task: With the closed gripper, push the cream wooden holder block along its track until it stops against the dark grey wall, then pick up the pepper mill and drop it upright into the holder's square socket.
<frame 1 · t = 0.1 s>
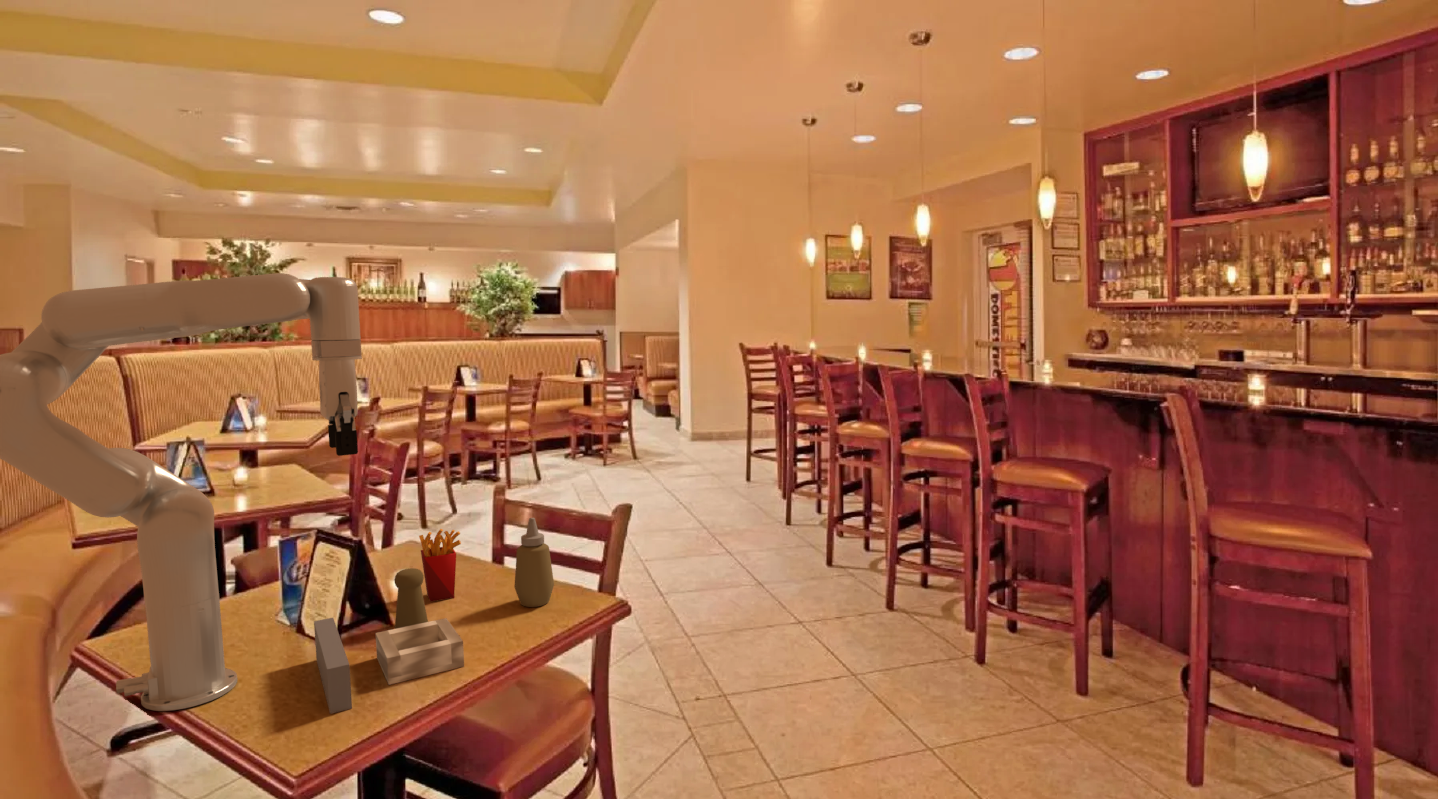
hand: (343, 450, 130), 37 cm above the table, tool pointing down, fingers open, 9 cm apart
squeeze bottle: (534, 603, 159), on the table
pepper mill: (411, 626, 148), on the table
holder block: (419, 649, 131), point 2 cm above the table, slide at 0.0 cm
french fries: (445, 598, 162), on the table
backstop wall: (333, 682, 124), on the table
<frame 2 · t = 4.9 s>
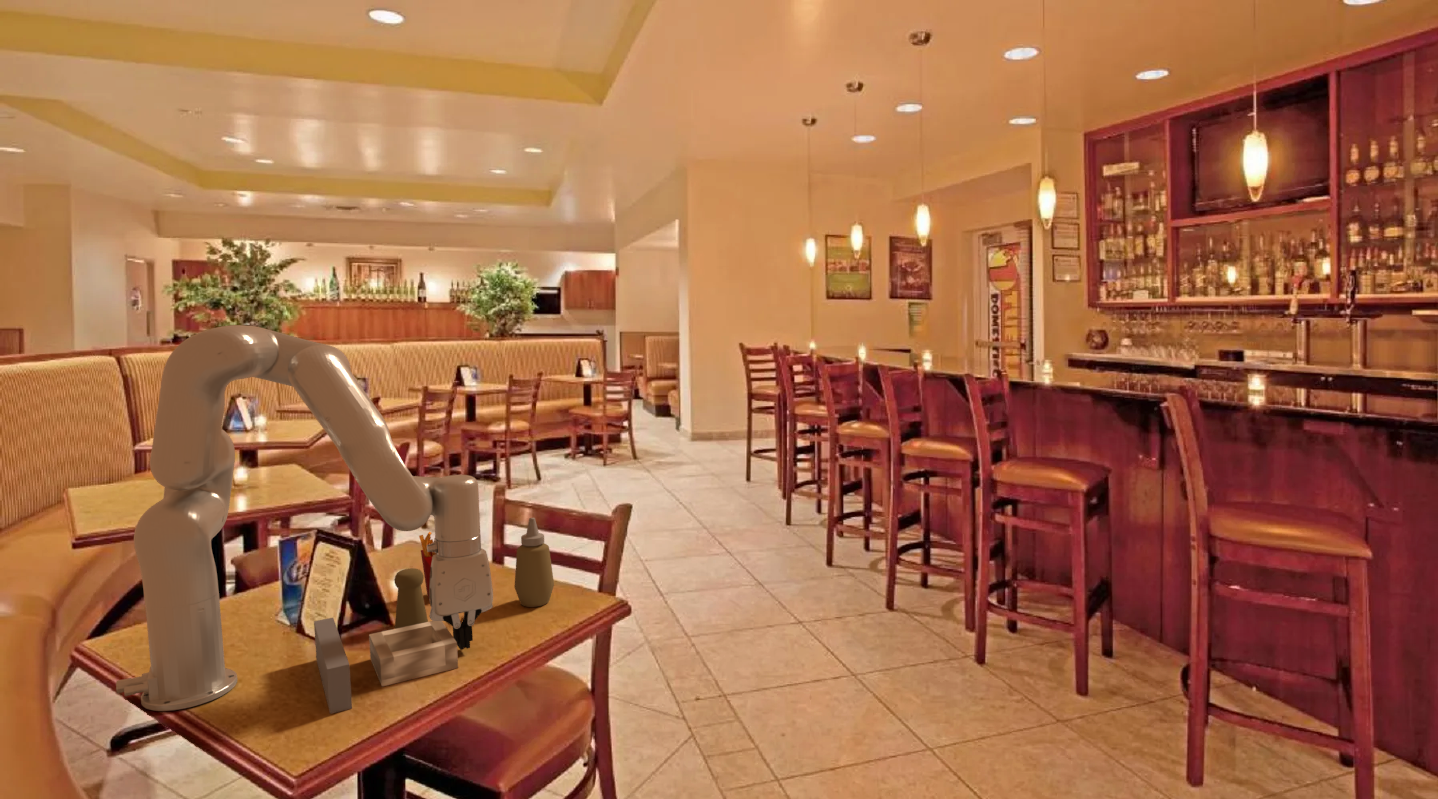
hand: (463, 646, 135), 1 cm above the table, tool pointing down, fingers closed
holder block: (413, 650, 131), point 2 cm above the table, slide at 1.0 cm, touching gripper
everything else where it was.
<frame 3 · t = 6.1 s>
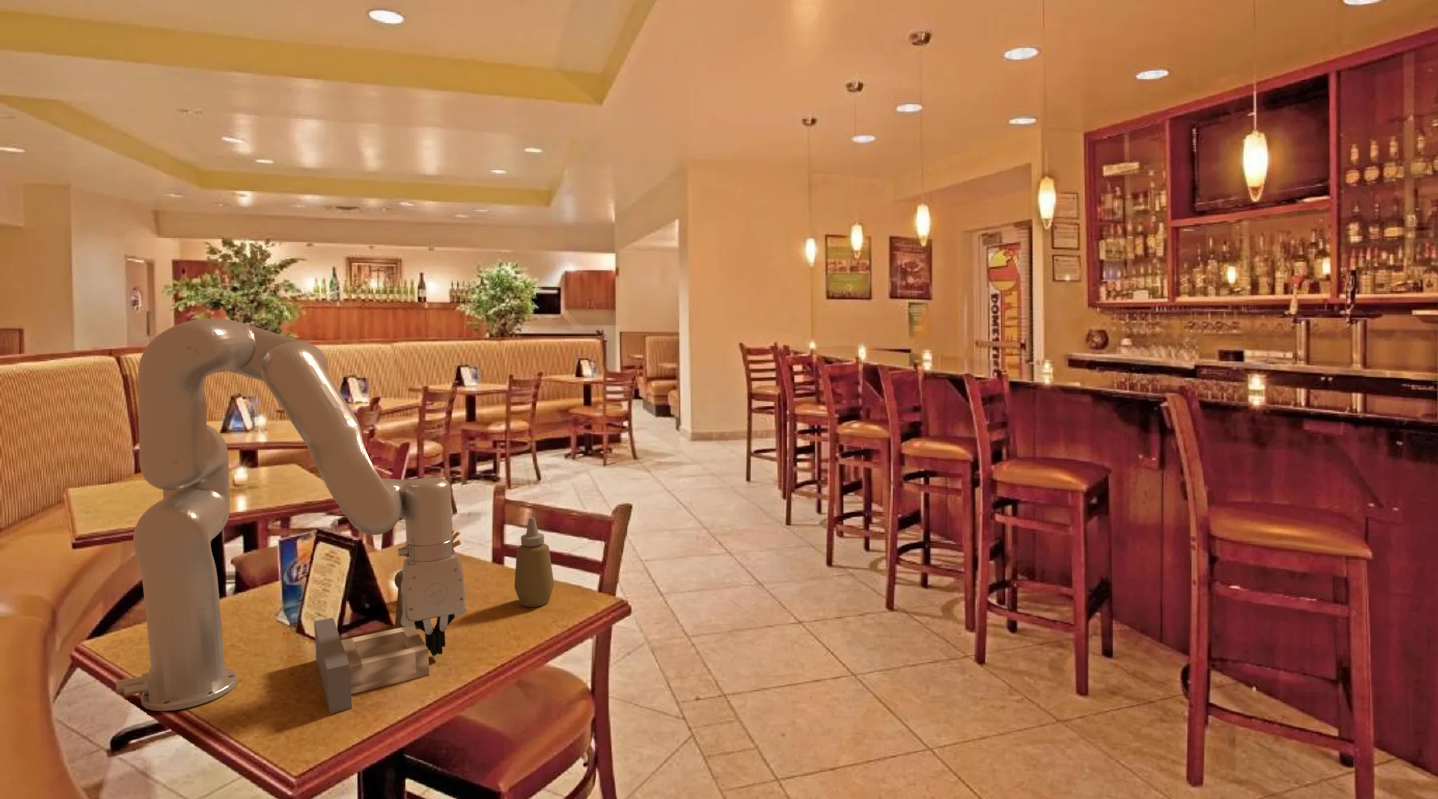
hand: (435, 651, 133), 1 cm above the table, tool pointing down, fingers closed
holder block: (383, 657, 128), point 2 cm above the table, slide at 5.7 cm, touching gripper
everything else where it was.
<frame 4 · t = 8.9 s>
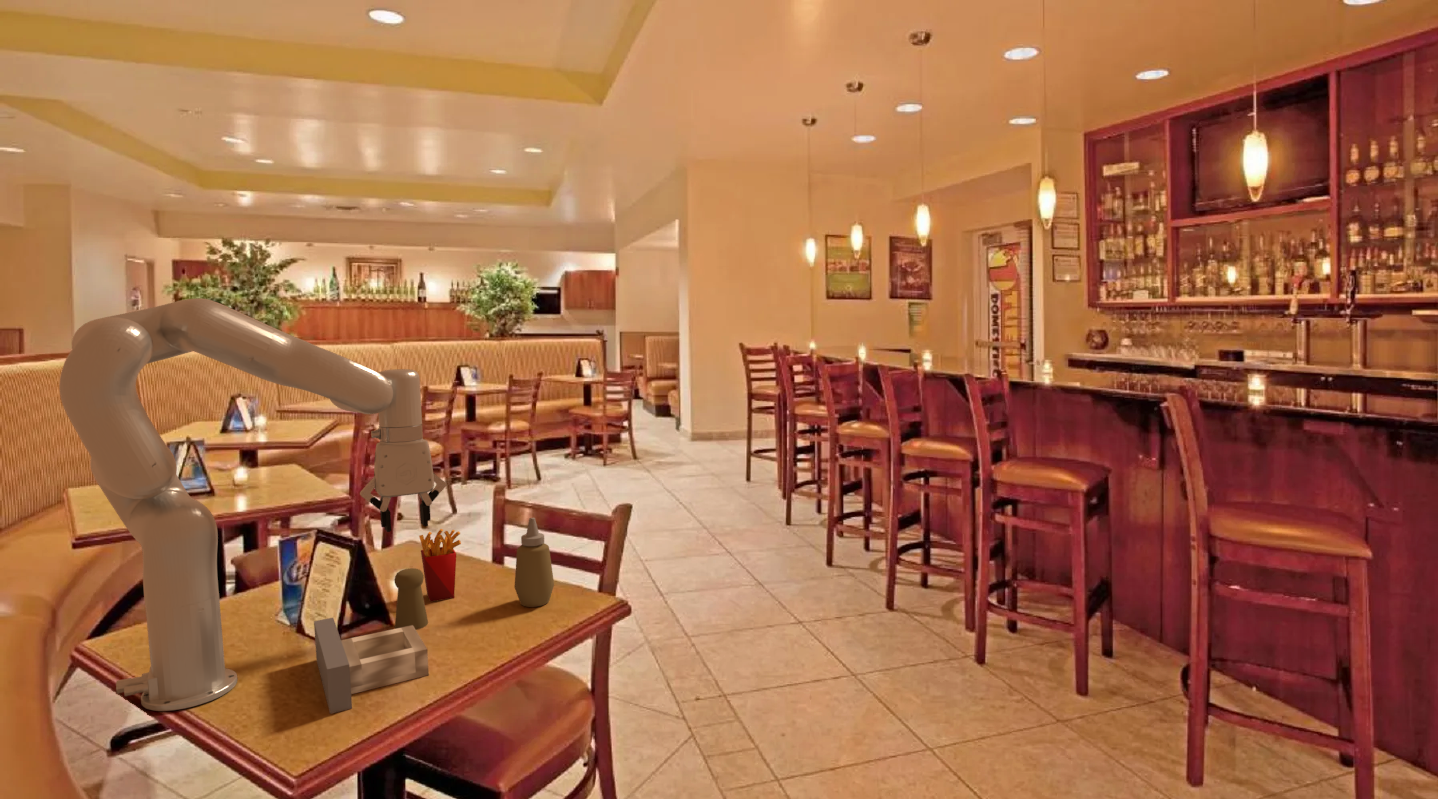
hand: (406, 526, 145), 20 cm above the table, tool pointing down, fingers open, 6 cm apart
holder block: (383, 657, 128), point 2 cm above the table, slide at 5.8 cm
everything else where it was.
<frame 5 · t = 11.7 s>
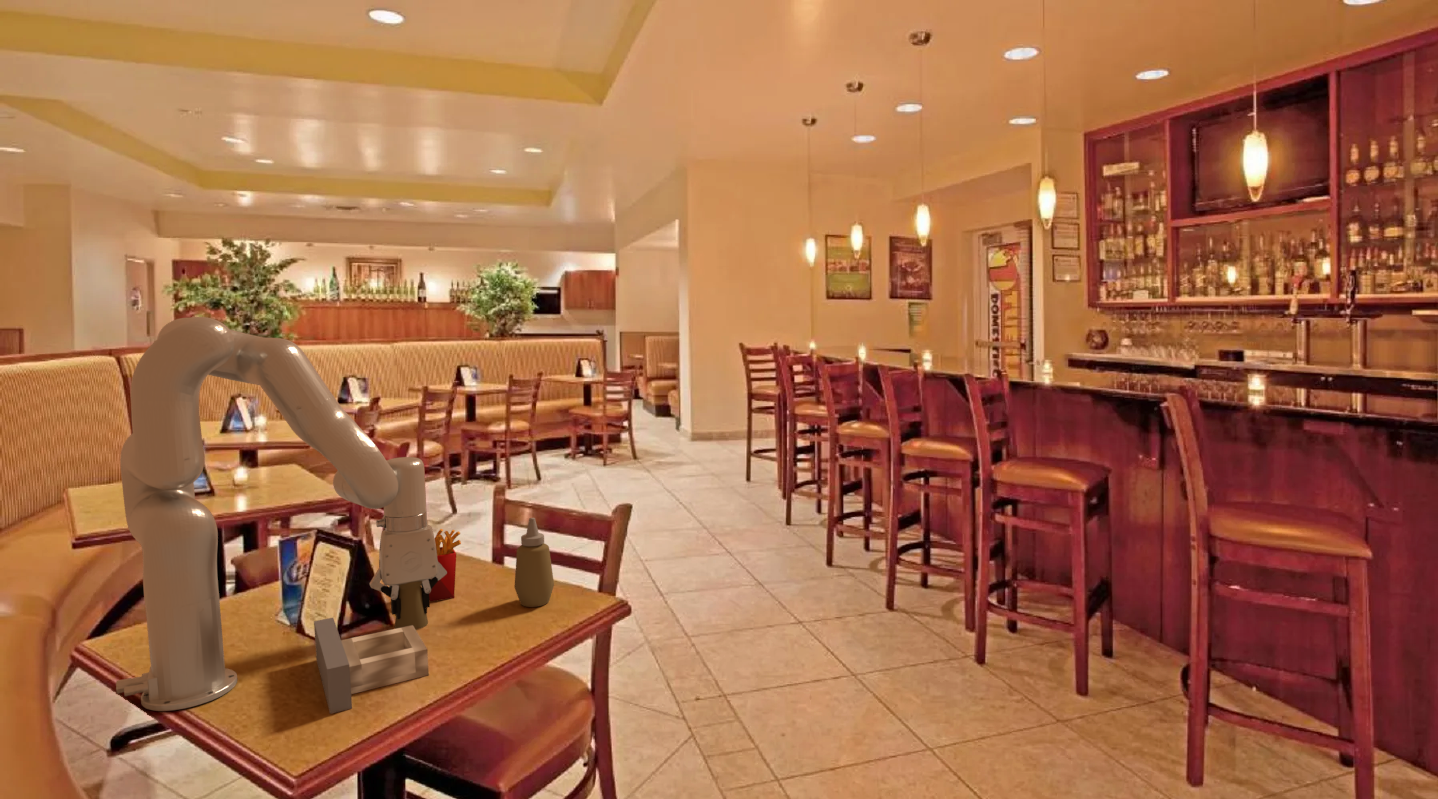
hand: (410, 613, 147), 2 cm above the table, tool pointing down, fingers closed on pepper mill, 4 cm apart
pepper mill: (411, 625, 148), on the table, touching gripper
everything else where it was.
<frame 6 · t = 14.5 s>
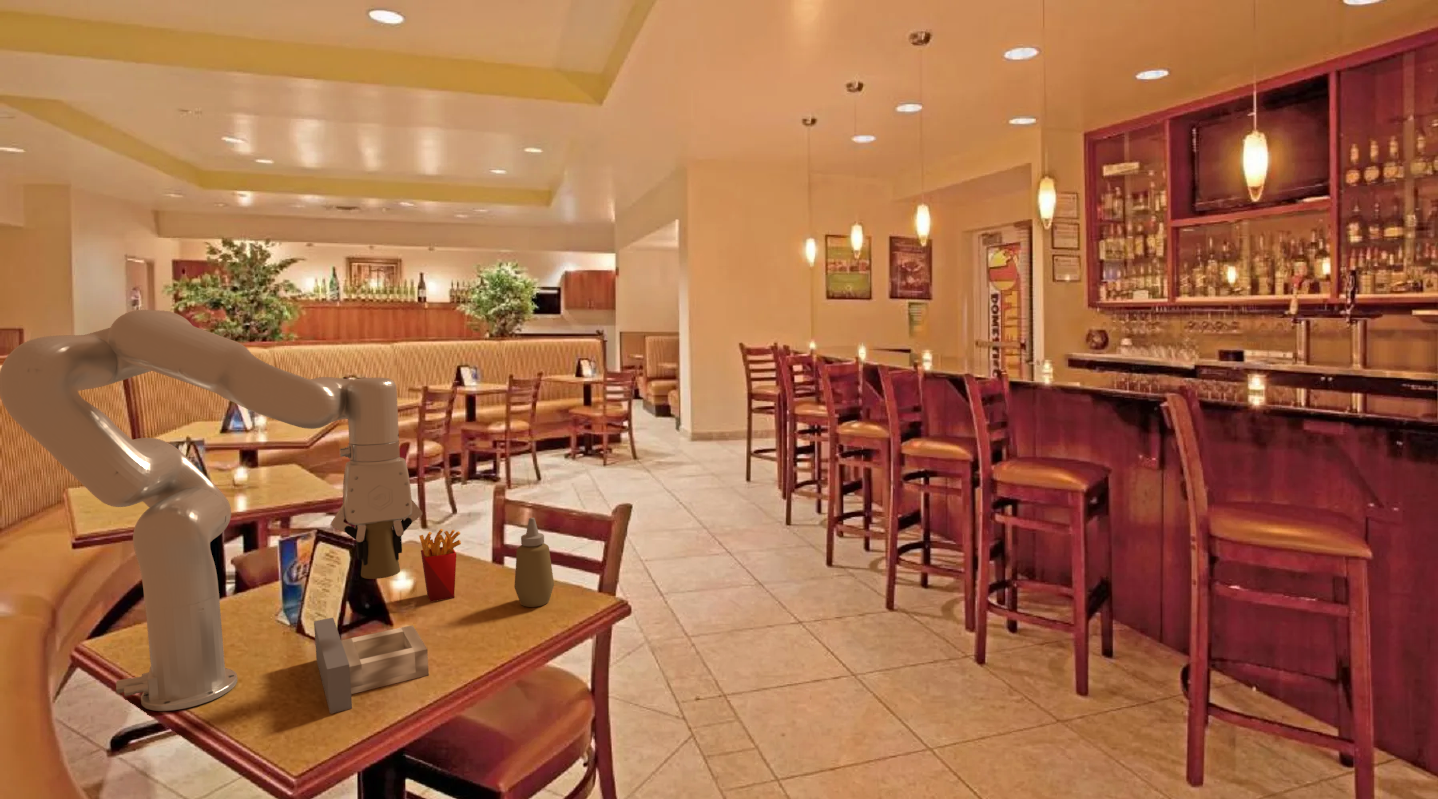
hand: (380, 559, 127), 19 cm above the table, tool pointing down, fingers closed on pepper mill, 4 cm apart
pepper mill: (380, 574, 127), point 17 cm above the table, touching gripper
everything else where it was.
when the fingers open (5 cm above the table, at t = 17.7 s): pepper mill stays where it is, resting on holder block.
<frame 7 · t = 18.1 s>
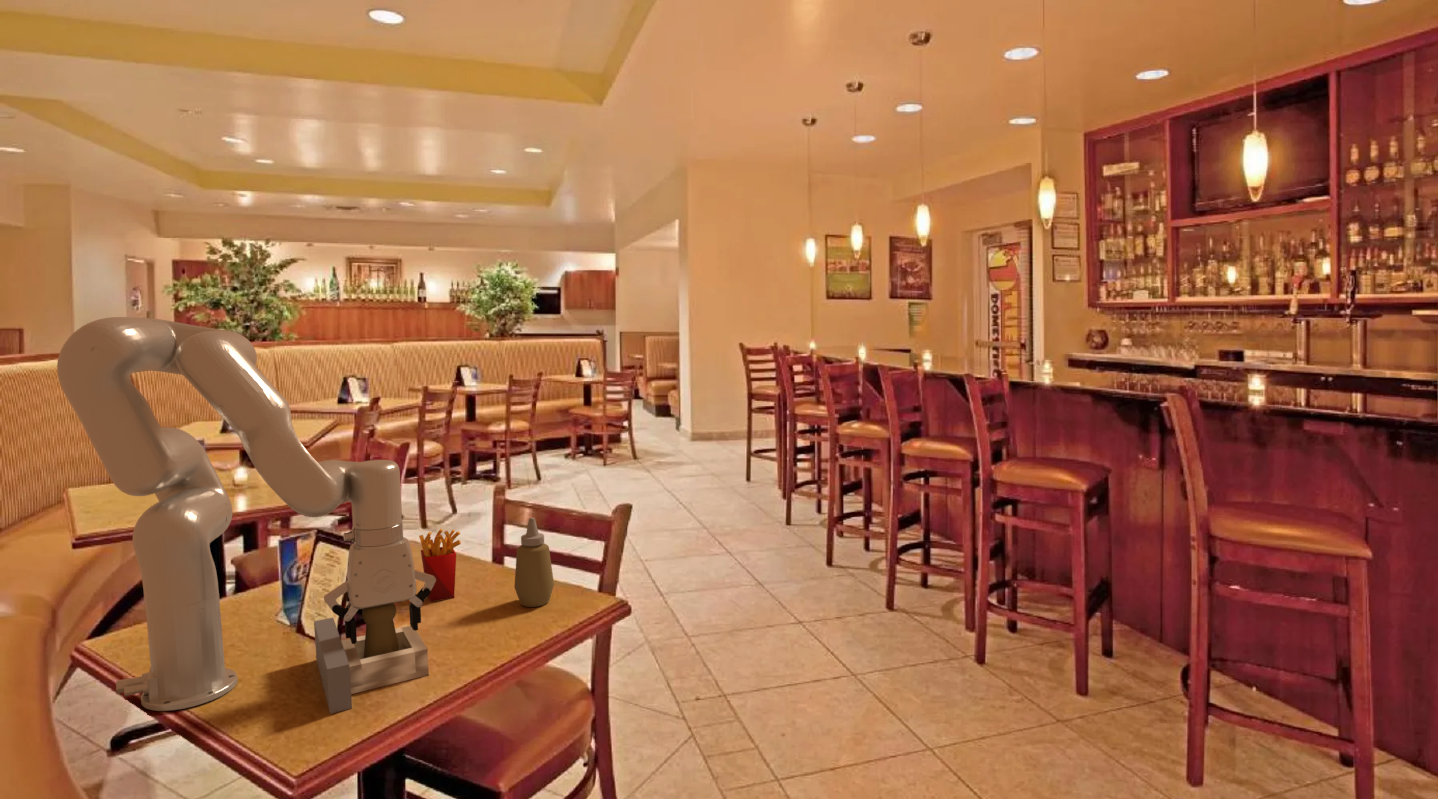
hand: (384, 634, 128), 6 cm above the table, tool pointing down, fingers open, 9 cm apart
pepper mill: (382, 666, 128), point 1 cm above the table, touching holder block
holder block: (383, 657, 128), point 2 cm above the table, slide at 5.8 cm, touching pepper mill
everything else where it was.
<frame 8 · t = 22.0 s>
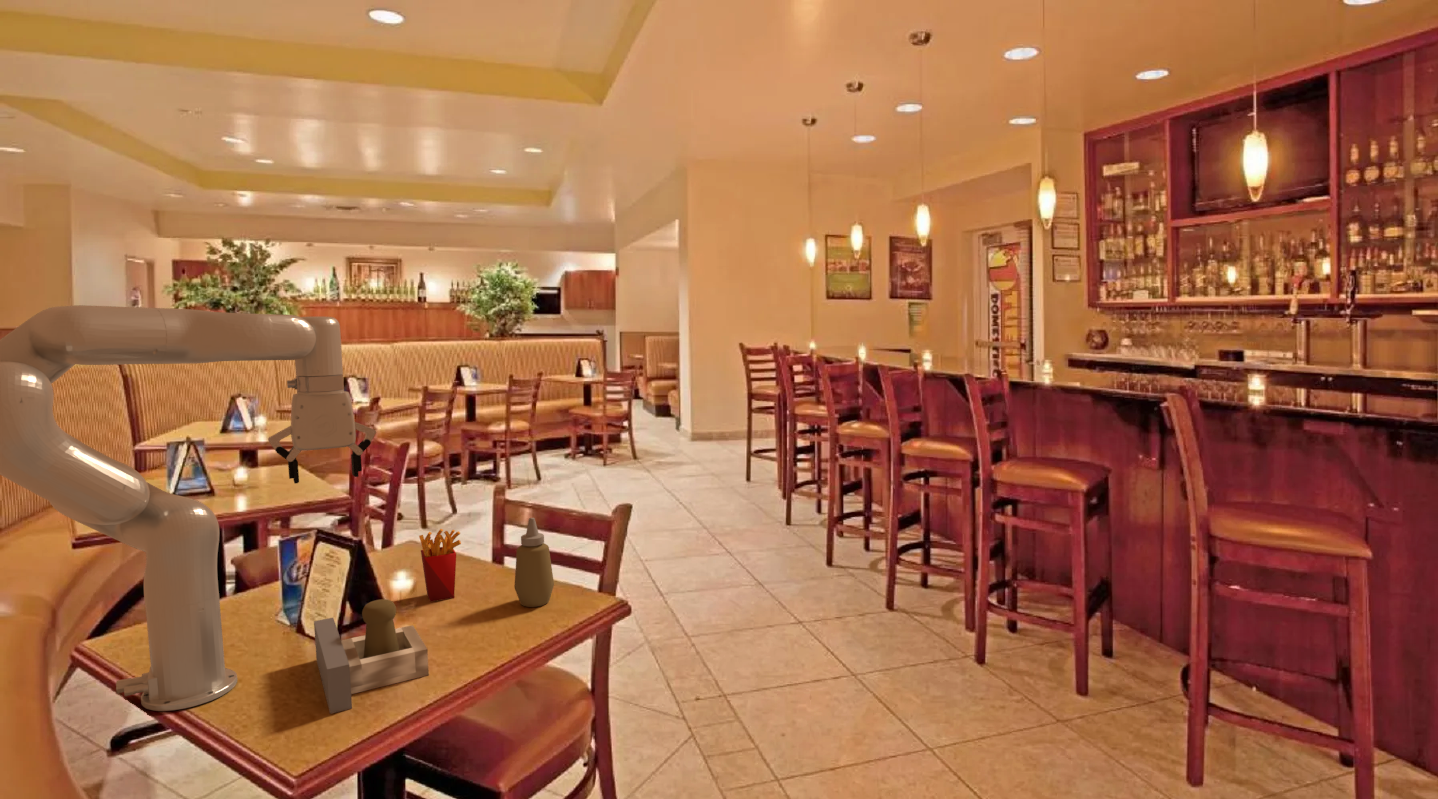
hand: (326, 478, 138), 30 cm above the table, tool pointing down, fingers open, 9 cm apart
nothing on the table moved.
at the end: holder block slide at 5.8 cm; pepper mill 0.6 cm from the target spot, point 0.8 cm above the table; pepper mill tilted 0° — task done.
